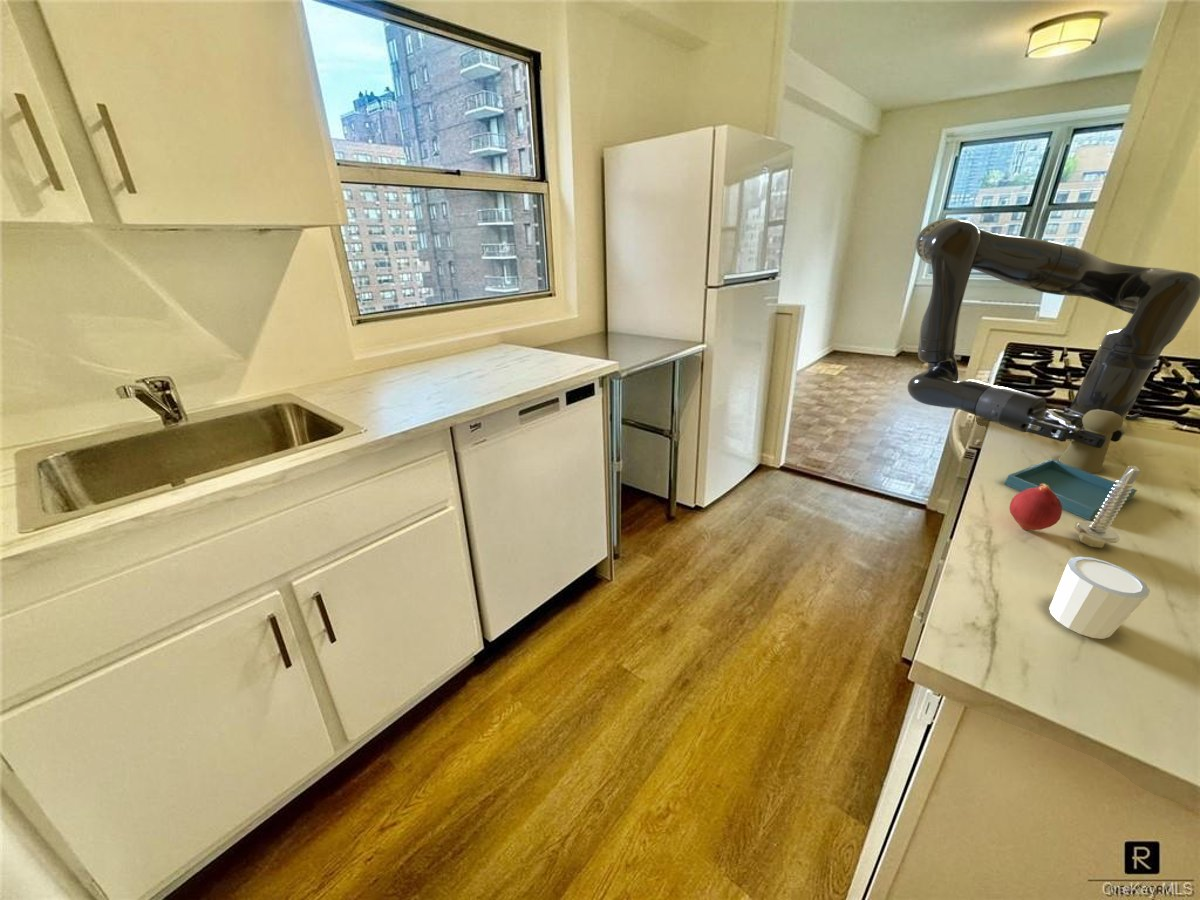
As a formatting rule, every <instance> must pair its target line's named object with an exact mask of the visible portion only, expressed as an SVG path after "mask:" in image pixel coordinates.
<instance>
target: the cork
mask: <svg viewBox="0 0 1200 900" xmlns="http://www.w3.org/2000/svg"><path fill="white" fill-rule="evenodd" d="M1082 422H1083V425H1084V426H1083V427H1082V428H1081V430H1086V431H1089V432H1093V433H1096V434H1099V435H1102V436H1106V437H1107V441H1106V443H1105V445H1104V446H1103V447H1101V448H1096V447H1093V446H1090V445H1087V444H1084V443H1081V442H1077V441H1076V440H1075V441H1070V444H1068V446H1067V447H1066V449H1065V450H1064V452H1063V453H1062V454H1061V456H1060V457H1059V458H1058V462H1061V463H1064V464H1066V465H1069V466H1072V467H1075V468H1077V469H1080V470H1083V471H1086V472H1089V473H1091V474H1096V473H1099V472H1101V471H1102V467H1103V464H1104V462H1105V459H1106V455H1107V452H1108V449H1109V447H1110V444H1111V442H1112V441H1111V438H1112V435H1113V432H1115V431H1117V430H1118V429H1119V428H1120V427H1121V428H1122V427H1123V424H1124V421H1123V419H1122V417H1121V416H1120V415H1119V414H1116V413H1114V412H1110V411H1106V410H1091V411H1089V412H1087V413H1086V414H1085V415H1084V417H1083V420H1082ZM1121 428H1120V429H1121ZM1081 430H1080V431H1081Z"/></svg>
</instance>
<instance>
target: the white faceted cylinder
mask: <svg viewBox="0 0 1200 900" xmlns="http://www.w3.org/2000/svg"><path fill="white" fill-rule="evenodd" d="M1150 592H1151V590H1150V588H1149V586H1148V584H1147V583H1146V582H1145V581H1144V580H1143V579H1141V578H1140V577H1139V576H1138V575H1136V574H1134V573H1133V572H1131V571H1129V570H1127V569H1125V568H1124V567H1122V566H1119V565H1117V564H1114V563H1112V562H1109V561H1106V560H1103V559H1100V558H1099V559H1098V558H1095V557H1090V556H1089V557H1088V556H1075V557H1070V558H1069V560H1068V561H1067V563H1066V566H1065V568H1064V571H1063V573H1062V576H1061V578H1060V581H1059V583H1058V586H1057V588H1056V590H1055V593H1054V596H1053V598H1052V599H1051V600H1052V601H1051V602H1050V605H1049V608H1048V609H1049V613H1050V615H1051V616H1052V618H1054V619H1055V621H1057V622H1058V623H1059V624H1060V625H1062V626H1063V627H1065V628H1067V629H1068V630H1070V631H1072V632H1075V633H1076V634H1078V635H1082V636H1085V637H1088V638H1091V639H1100V640H1104V639H1107V638H1110V637H1112V635H1113V634H1114V633H1115V632H1116V631H1117V630H1118V628H1120V626H1122V624H1123V623H1125V622H1126V620H1127V619H1128V618H1129V617H1130V616H1132V614H1133V613H1134V612H1135V611H1136V610H1137V608H1138V607H1139V606H1140V605H1141V604H1142V603H1143V602H1144V601H1145V600H1146V599H1147V598H1148V597H1149V594H1150Z"/></svg>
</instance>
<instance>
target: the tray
mask: <svg viewBox="0 0 1200 900" xmlns="http://www.w3.org/2000/svg"><path fill="white" fill-rule="evenodd" d="M1040 484H1046V485H1048V486H1049V488H1050V489H1051V490H1052V492H1053V493H1054V494H1055V495H1056V496H1057V497H1058V498H1059V500H1060V502H1061V504H1062V510H1064V511H1067V512H1069V513H1070V514H1074V515H1076V516H1078V517H1080V518H1083V519H1085V520H1087V521H1091V520H1094V519H1096V517H1095V516H1098V512H1100V510H1099V509H1102V507H1101V506H1102V505H1104V503H1103V502H1106V501H1107V500H1105V499H1108V496H1107V495H1110V494H1111V493H1110V492H1112V489H1111V488H1114V487H1115V486H1114V484H1117V482H1116V481H1114V480H1111V479H1107V478H1104V477H1102V476H1099V475H1097V474H1095V473H1089V472H1086V471H1083V470H1080V469H1077V468H1075V467H1072V466H1069V465H1066V464H1064V463H1061V462H1059V460H1055V459H1053V458H1050V459H1047V460H1045V461H1042V462H1039V463H1037V464H1035V465H1031V466H1029V467H1027V468H1024V469H1021V470H1019V471H1015V472H1013V473H1010V474H1008V475H1007V477H1006V480H1005V482H1004V485H1006V486H1007V487H1010V488H1013V489H1015V490H1017V491H1019V492H1022V491H1024V490H1026V489H1030V488H1039V486H1040ZM1136 492H1137V489H1136V488H1133V489H1131V493H1128V494H1129V496H1128V497H1126V498H1127V500H1125V501H1124V502H1125V503H1127V502H1129V501H1131V500H1132V499H1133V497H1134V496H1135V494H1136Z"/></svg>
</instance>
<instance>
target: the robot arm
mask: <svg viewBox="0 0 1200 900" xmlns="http://www.w3.org/2000/svg"><path fill="white" fill-rule="evenodd" d="M915 250H916V253H917V256H918V257H919V258H920V259H921V260H922V261H923V262H924V263H926V264H928V265H930V266H931V271H932V287H931V293H930V298H929V301H928V304H927V307H926V309H925V312H924V314H923V317H922V320H921V322H920V326H919V327H920V328H919V334H918V335H919V336H918V345H917V358H918V359H919V360H920V361H921V362H923V363H926V364H927V369H926V370H925V371H922V372H920V373H918V374H916V375H914V376H913V377H911V379H910V380H909V381H908V383H907V392H908V394H909V396H910V397H911V398H912V399H913V400H915V401H917V402H918V403H920V404H923V405H927V406H933V407H938V408H945V409H953V410H954V409H955V410H959V411H962V412H966V413H968V414H971V415H974V416H977V417H980V418H982V419H984V420H986V421H988V422H991V423H994V424H997V425H1000V426H1003V427H1005V428H1009V429H1011V430H1015V431H1017V432H1020V433H1029V434H1033V435H1037V436H1040V437H1044V438H1048V439H1051V440H1055V441H1058V442H1062V443H1065V442H1066V441H1068V442H1072V441H1075V440H1076V441H1077V442H1081V443H1084V444H1087V445H1090V446H1093V447H1096V448H1101V447H1103V446H1104V445H1105V443H1106V441H1107V437H1106V436H1102V435H1099V434H1096V433H1093V432H1089V431H1086V430H1081V428H1082V427H1083V426H1084V425H1083V422H1082V420H1083V417H1084V415H1085V414H1086V413H1087V412H1089V411H1091V410H1106V411H1110V412H1114V413H1116V414H1119V415H1120V416H1121V417H1122V419H1123V422H1124V421H1125V420H1129V421H1130V420H1136V419H1138V418H1142V417H1144V416H1143V415H1140V414H1139V413H1135V414H1133V415H1129V412H1131V411H1132V409H1133V408H1134V405H1135V404H1136V402H1137V398H1138V396H1139V394H1140V392H1141V391H1142V389H1143V387H1144V386H1145V383H1146V381H1147V379H1148V377H1149V376H1150V374H1151V372H1152V371H1153V368H1154V367H1155V365H1156V363H1157V361H1158V359H1159V358H1160V355H1161V354H1162V352H1163V350H1164V349H1165V347H1167V346H1168V345H1169V344H1170V343H1171V342H1173V341H1174V340H1175V338H1177V336H1178V335H1179V333H1180V332H1181V330H1182V329H1183V327H1184V325H1185V323H1186V322H1187V320H1188V319H1189V317H1190V316H1191V314H1192V312H1193V311H1194V309H1195V307H1196V306H1197V304H1198V302H1199V301H1200V277H1199V276H1198V275H1197V274H1195V273H1193V272H1190V271H1184V270H1178V269H1170V268H1163V267H1148V266H1137V265H1130V264H1123V263H1116V262H1112V261H1108V260H1106V259H1104V258H1102V257H1099V256H1098V255H1096V254H1094V253H1092V252H1090V251H1087V250H1085V249H1082V248H1079V247H1076V246H1073V245H1067V244H1064V243H1060V242H1057V241H1056V242H1055V241H1052V240H1044V239H1037V238H1032V237H1031V238H1030V237H1024V236H1016V235H1015V236H1014V235H1005V234H998V233H992V232H989V231H986V230H983V229H980V228H978V227H977V226H976V225H975V224H974V223H972V222H970V221H968V220H963V219H958V218H953V217H949V218H942V219H938V220H936V221H933V222H931V223H929V224H928V225H927V226H925V227H924V228H923V229H921V231H920V232H919V234H918V235H917V237H916V240H915ZM972 270H975V271H978V272H980V273H983V274H986V275H987V276H990V277H992V278H995V279H998V280H1000V281H1002V282H1005V283H1008V284H1012V285H1014V286H1017V287H1020V288H1023V289H1027V290H1031V291H1036V292H1040V293H1043V294H1049V295H1050V294H1051V295H1056V296H1057V295H1058V296H1068V297H1081V298H1087V299H1091V300H1094V301H1097V302H1100V303H1103V304H1105V305H1108V306H1111V307H1113V308H1115V309H1118V310H1120V311H1123V312H1125V313H1128V314H1130V315H1131V317H1130V318H1129V321H1128V322H1127V323H1126V325H1125V326H1124V327H1123V328H1121V329H1117V330H1113V331H1109V332H1107V333H1106V334H1105V335H1104V337H1103V338H1102V340H1101V342H1100V345H1099V346H1098V349H1097V351H1096V353H1095V355H1094V357H1093V360H1092V361H1091V363H1090V366H1089V367H1088V369H1087V371H1086V373H1085V375H1084V377H1083V379H1082V382H1081V384H1080V385H1079V388H1078V390H1077V392H1076V394H1075V395H1074V398H1073V400H1072V402H1071V404H1070V406H1069V408H1064V410H1063V409H1056V408H1055V409H1048V407H1047V403H1048V402H1047V399H1045V398H1044V397H1041V396H1039V395H1034V394H1031V393H1028V392H1023V391H1020V390H1016V389H1013V388H1010V387H1005V386H1000V385H999V386H998V385H994V384H991V383H987V382H983V381H980V380H975V379H965V380H961V381H958V380H959V369H958V363H957V357H956V353H955V350H956V345H957V337H958V329H959V323H960V315H961V311H962V306H963V302H964V297H965V293H966V290H967V287H968V283H969V279H970V277H971V273H972ZM1127 414H1128V415H1129V416H1127ZM1121 428H1122V426H1121V427H1120V428H1119V429H1118V430H1117V431H1115V432H1113V435H1112V438H1111V441H1110V442H1113V443H1116V442H1119V441H1121V439H1122V437H1123V435H1124V434H1125V432H1124V430H1122V429H1121ZM1080 430H1081V431H1080Z"/></svg>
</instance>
